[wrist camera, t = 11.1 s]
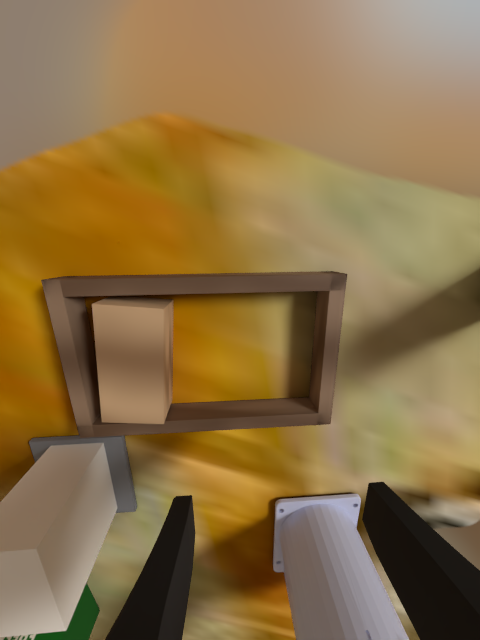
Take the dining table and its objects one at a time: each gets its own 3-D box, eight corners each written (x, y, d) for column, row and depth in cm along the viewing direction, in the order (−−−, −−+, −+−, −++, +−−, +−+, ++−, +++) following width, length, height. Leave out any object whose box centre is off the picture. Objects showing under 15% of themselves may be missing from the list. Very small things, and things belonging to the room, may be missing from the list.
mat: (137, 506, 21) (135, 511, 21) (56, 512, 21) (52, 517, 21) (123, 433, 19) (121, 436, 19) (32, 438, 19) (28, 442, 18)
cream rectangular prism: (117, 508, 21) (66, 630, 14) (69, 511, 21) (-6, 637, 14) (103, 442, 19) (36, 549, 12) (50, 445, 19) (-48, 555, 12)
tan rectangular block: (172, 397, 19) (163, 424, 16) (120, 395, 19) (101, 422, 16) (174, 298, 17) (163, 308, 14) (115, 294, 16) (91, 303, 13)
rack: (320, 407, 20) (330, 424, 18) (94, 418, 19) (79, 437, 17) (332, 271, 17) (347, 274, 15) (63, 276, 16) (41, 279, 14)
